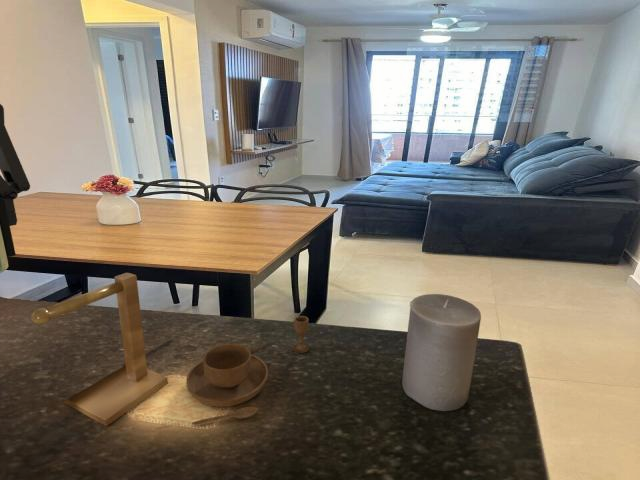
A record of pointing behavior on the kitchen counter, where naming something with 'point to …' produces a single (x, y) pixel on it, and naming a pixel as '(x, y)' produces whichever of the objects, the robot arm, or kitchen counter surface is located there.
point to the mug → (2, 255)
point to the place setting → (234, 375)
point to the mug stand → (134, 378)
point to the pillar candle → (440, 351)
